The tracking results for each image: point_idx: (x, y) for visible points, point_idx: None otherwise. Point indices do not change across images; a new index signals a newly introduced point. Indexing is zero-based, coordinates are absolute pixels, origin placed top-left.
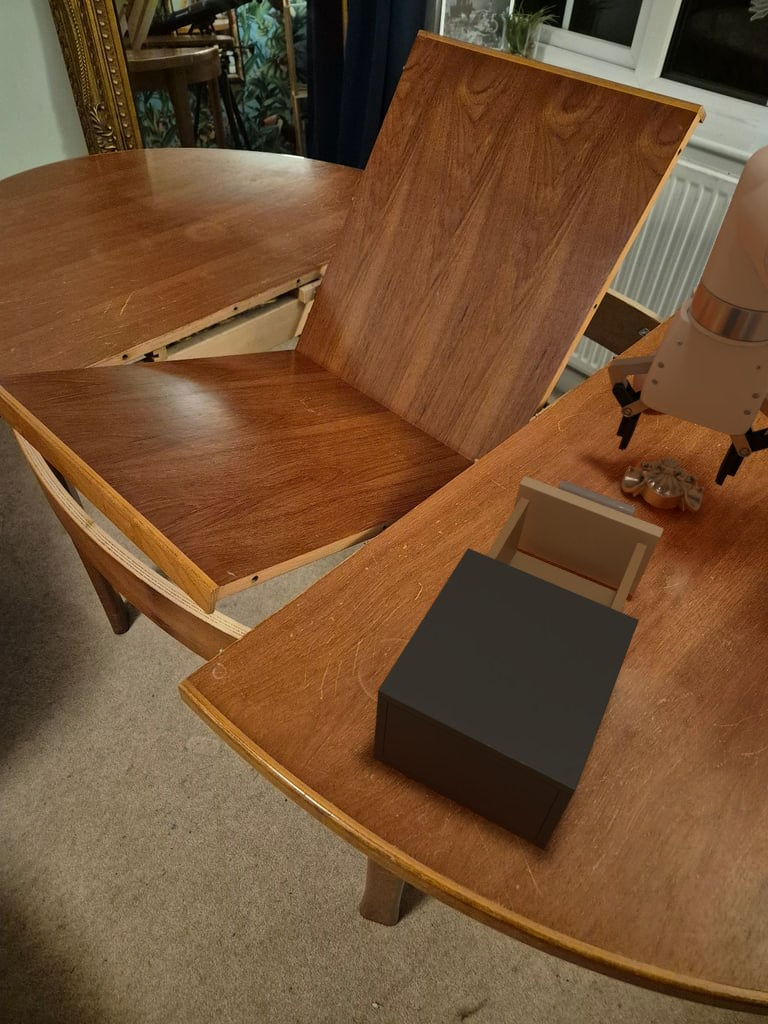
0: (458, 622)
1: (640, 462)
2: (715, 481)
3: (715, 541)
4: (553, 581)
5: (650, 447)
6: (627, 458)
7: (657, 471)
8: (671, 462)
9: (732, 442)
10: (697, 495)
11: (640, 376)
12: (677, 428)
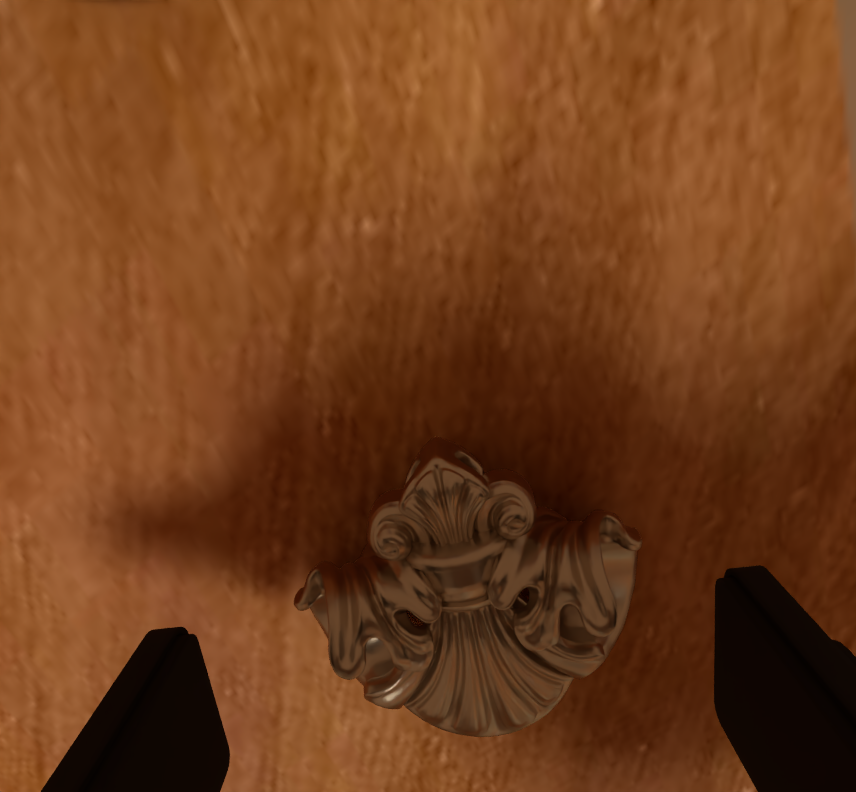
0: None
1: (326, 597)
2: (722, 724)
3: None
4: None
5: (305, 277)
6: (258, 423)
7: (423, 664)
8: (450, 515)
9: (844, 773)
10: (615, 545)
11: None
12: (349, 5)
